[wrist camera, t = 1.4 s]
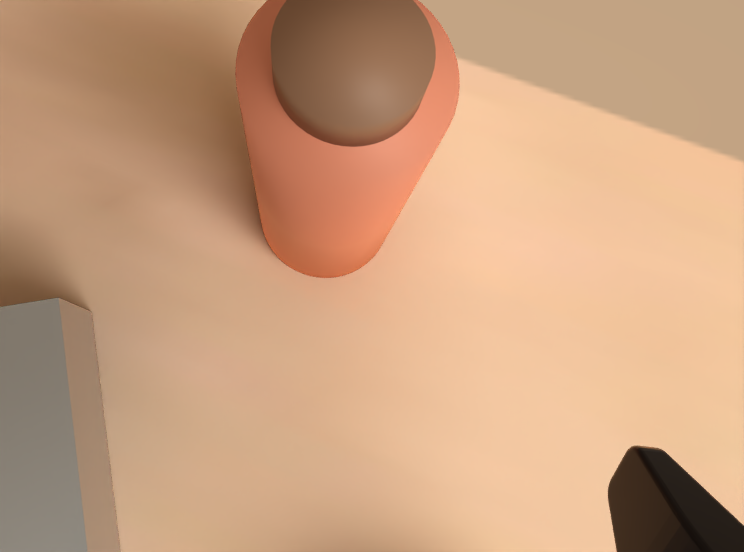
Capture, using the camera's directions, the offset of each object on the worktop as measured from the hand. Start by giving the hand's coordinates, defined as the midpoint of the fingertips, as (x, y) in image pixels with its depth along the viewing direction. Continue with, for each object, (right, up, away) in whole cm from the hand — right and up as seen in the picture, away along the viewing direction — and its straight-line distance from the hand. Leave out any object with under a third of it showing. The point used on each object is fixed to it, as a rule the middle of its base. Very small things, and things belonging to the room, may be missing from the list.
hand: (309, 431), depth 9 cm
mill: (-1, +4, +14) cm, 14 cm away
